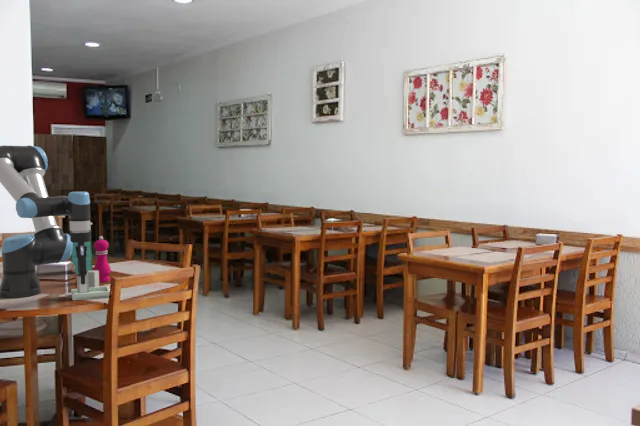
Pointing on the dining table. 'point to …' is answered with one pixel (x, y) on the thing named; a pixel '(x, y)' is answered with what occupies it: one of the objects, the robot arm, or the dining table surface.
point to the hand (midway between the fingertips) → (83, 290)
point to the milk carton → (88, 258)
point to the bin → (91, 293)
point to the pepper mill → (102, 260)
